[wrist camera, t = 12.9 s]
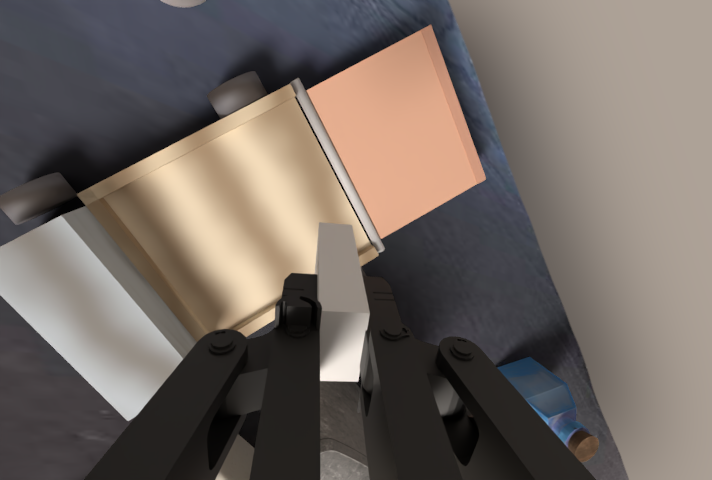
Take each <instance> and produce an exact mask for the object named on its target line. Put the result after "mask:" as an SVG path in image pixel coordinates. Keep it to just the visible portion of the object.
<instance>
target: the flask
mask: <svg viewBox="0 0 712 480" xmlns="http://www.w3.org/2000/svg"><path fill="white" fill-rule="evenodd" d="M359 394H360V387H359V386H358V385H357V384H356V382H347V381H320V480H370V479H369V471H368V462H367V454H366V445H365V437H364V428H363V420H362V411H361V410H360V413H357V406H358V400H359Z"/></svg>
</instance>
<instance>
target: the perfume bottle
mask: <svg viewBox="0 0 712 480" xmlns="http://www.w3.org/2000/svg"><path fill="white" fill-rule="evenodd" d="M497 368H498V369H499V370H500V371H501V373H502V374H503V375H504V376H505V377H506V378H507V379H508V381H509V382H510V383H511V384H512V385H513V386H514V387H515V388H516V390H517V391H518V392H519V393H520V394H521V395H522V396H523V398H524V399H525V400H526V401H527V402H528V403H529V404H530V405H531V407H532V408H533V409H534V410H535V411H536V412H537V413H538V415H539V416H540V417H541V418H542V419H543V420H544V421H545V422H546V424H547V425H548V426H549V427H550V428H551V429H552V430H553V431H554V433H555V434H556V435H557V436H558V437H559V438H560V439H561V441H562V442H563V443H564V444H565V445H566V446H567V447H568V448H569V450H570V451H571V452H572V453H573V454H574V455H575V456H576V458H577V459H578V460H579V461H580V462H584V461H587V460H589V459H590V458H591V457H592V456H593V455H594V454H595V453H596V451H597V449H598V446H599V441H598V439H597V438H596V437H594V436H592V435H590V432H589V430H588V429H587V428H586V427H585V426H583V425H582V424H581V423H579V422H577V421H576V405H575V403H574V400H573V398H572V395H571V393H570V390H569V388H568V386H567V384H566V383H565V382H564V381H562V380H561V379H560V378H558V377H557V376H555V375H554V374H553V373H551V372H550V371H549V370H547V369H546V368H545V367H543V366H542V365H540V364H539V363H538V362H536V361H535V360H534V359H532V358H531V357H527V358H524V359H521V360H518V361H515V362H512V363H509V364H506V365H503V366H500V367H497Z"/></svg>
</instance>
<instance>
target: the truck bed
mask: <svg viewBox="0 0 712 480" xmlns="http://www.w3.org/2000/svg"><path fill="white" fill-rule="evenodd" d="M295 96H296V94H295V92H294V90H293V88H292V86H291V84H288V85H286V86H285V87H283V88H281V89H279V90H277V91H275V92H273V93H271V94H269V95H268V94H267V92H266V90H265V88H264V87H263V85H262V83H261V81H260V79H259V77H258V75H257V74H256V72H255V71H251V72H247V73H244V74H242V75H239V76H237V77H235V78H233V79H231V80H229V81H227V82H225V83H223V84H222V85H220V86H218V87H217V88H215V89H214V90H212V91H211V92H210V93H209V94H208V95H207V97H208V99H209V101H210V102H211V104H212V106H213V107H214V109H215V111H216V112H217V114H218V116H219V117H220V119H221V120H219V121H217V122H215V123H213V124H211V125H209V126H207V127H205V128H203V129H201V130H200V131H198V132H196V133H194V134H192V135H190V136H188V137H186V138H184V139H182V140H180V141H178V142H176V143H174V144H172V145H171V146H169V147H167V148H165V149H163V150H161V151H159V152H157V153H155V154H153V155H151V156H149V157H147V158H145V159H143V160H142V161H140V162H138V163H136V164H134V165H132V166H130V167H128V168H126V169H124V170H122V171H120V172H118V173H116V174H114V175H113V176H111V177H109V178H107V179H105V180H103V181H101V182H99V183H97V184H95V185H93V186H91V187H89V188H87V189H86V190H84V191H82V192H80V193H78V194H77V193H76V192H75V191H74V190H73V188H72V187H71V186H70V185H69V184H68V182H67V181H66V180H65V179H64V177H63V176H62V175H61V174H60V173H59V172H56V173H52V174H49V175H45V176H43V177H40V178H37V179H35V180H32V181H30V182H27V183H25V184H23V185H21V186H18V187H16V188H14V189H12V190H10V191H8V192H6V193H5V194H3V195H1V196H0V208H1V209H2V210H3V211H4V212H5V213H6V215H7V216H8V217H9V218H10V219H11V220H12V221H13V222H14V223H15V224H16V225H18V224H21V223H24V222H27V221H29V220H31V219H34V218H36V217H38V216H40V215H42V214H45V213H47V212H49V211H51V210H53V209H55V208H57V207H59V206H61V205H63V204H65V203H67V202H68V201H70V200H72V199H74V198H75V197H77V196H78V197H79V198H80V199H81V200H82V202H83V203H84V204H85V205H86V206H84V207H82V208H79V209H76V210H74V211H71V212H68V213H66V214H63V215H61V216H59V217H57V218H55V219H53V220H51V221H49V222H47V223H45V224H43V225H42V226H40V227H38V228H36V229H34V230H32V231H30V232H28V233H26V234H24V235H22V236H20V237H19V238H17V239H15V240H13V241H11V242H9V243H7V244H5V245H3V246H1V247H0V295H1V296H2V297H3V298H4V299H5V300H6V301H7V302H8V303H9V304H10V305H11V306H12V307H13V308H14V309H15V310H16V311H17V312H18V313H19V314H20V315H21V316H22V317H23V318H24V319H25V320H26V321H27V322H28V323H29V324H30V325H31V326H32V327H33V328H34V329H35V330H36V331H37V332H38V333H39V334H40V335H41V336H42V337H43V338H44V339H45V340H46V341H47V342H48V343H49V344H50V345H51V346H52V347H53V348H54V349H55V350H56V351H57V352H58V353H59V354H60V355H62V356H63V357H64V358H65V359H66V360H67V361H68V362H69V363H70V364H71V365H72V366H73V367H74V368H75V369H76V370H77V371H78V372H79V373H80V374H81V375H82V376H83V377H84V378H85V379H86V380H87V381H88V382H89V383H90V384H91V385H92V386H93V387H94V388H95V389H96V390H97V391H98V392H99V393H100V394H101V395H102V396H103V397H104V398H105V399H106V400H107V401H108V402H109V403H110V404H111V405H112V406H113V407H114V408H115V409H116V410H117V411H118V412H119V413H120V414H121V415H122V416H123V417H124V418H125V419H126V420H127V421H129V420H131V419H132V418H134V417H135V416H137V415H138V414H139V412H140V411H141V410H142V409H143V407H144V406H145V405H146V404H147V403H148V401H149V400H150V399H151V398H152V396H153V395H154V394H155V393H156V392H157V390H158V389H159V388H160V387H161V386H162V384H163V383H164V382H165V381H166V379H167V378H168V377H169V376H170V375H171V373H172V372H173V371H174V370H175V369H176V367H177V366H178V365H179V364H180V362H181V361H182V360H183V359H184V358H185V356H186V355H187V354H188V353H189V351H190V350H191V349H192V348H193V347H194V345H195V344H196V343H197V342H198V341H199V340H200V339H201V338H202V337H203V336H204V335H205V334H208V333H210V332H212V331H215V330H221V329H233V330H236V331H238V332H241V333H242V334H243V335H244V336H245V337H247V336H249V335H250V334H252V333H253V332H255V331H257V330H258V329H260V328H262V327H263V326H265V325H266V324H268V323H270V322H271V321H273V320H275V305H276V303H277V302H278V300H280V299H281V298H282V292H283V286H284V280H285V279H286V278H287V277H288V276H289V275H290V274H291V273H303V274H315V263H316V251H317V240H318V228H319V222H322V223H335V224H347V225H352V227H353V232H354V237H355V242H356V247H357V252H358V257H359V262H360V267H361V266H363V265H364V264H366V263H368V262H369V261H371V260H372V259H374V258H376V257H377V256H379V255H378V253H377V251H376V249H375V247H374V246H372V245H371V243H370V241H369V240H368V238H367V236H366V234H365V232H364V230H363V228H362V226H361V224H360V222H359V220H358V218H357V216H356V214H355V213H354V211H353V209H352V207H351V205H350V203H349V201H348V199H347V197H346V195H345V193H344V191H343V189H342V187H341V186H340V184H339V182H338V180H337V178H336V176H335V174H334V172H333V170H332V168H331V166H330V164H329V162H328V160H327V159H326V157H325V155H324V153H323V151H322V149H321V147H320V145H319V143H318V141H317V139H316V137H315V135H314V133H313V132H312V130H311V128H310V126H309V124H308V122H307V120H306V118H305V116H304V114H303V112H302V110H301V108H300V106H299V105H298V103H297V101H296V99H295ZM361 272H362V276H366V274H365V272H364V270H363V269H362V267H361Z"/></svg>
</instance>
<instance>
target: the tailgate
mask: <svg viewBox="0 0 712 480" xmlns="http://www.w3.org/2000/svg"><path fill="white" fill-rule="evenodd" d="M290 84H291V86H292V88H293V90H294V92H295V94H296V97H297V99H298V100H299V102H300V104H301V106H302V108H303V110H304V112H305V114H306V116H307V118H308V120H309V122H310V124H311V126H312V128H313V130H314V131H315V133H316V135H317V137H318V139H319V141H320V143H321V145H322V147H323V149H324V151H325V153H326V155H327V157H328V159H329V161H330V162H331V164H332V166H333V168H334V170H335V172H336V174H337V176H338V178H339V180H340V182H341V184H342V186H343V188H344V190H345V191H346V193H347V195H348V197H349V199H350V201H351V203H352V205H353V207H354V209H355V211H356V213H357V215H358V217H359V219H360V221H361V222H362V224H363V226H364V228H365V230H366V232H367V234H368V236H369V238H370V240H371V242H372V244H373V246H374V247H375V249H376V251H377V253H380V252H382V251H384V250H385V247H384V245H383V243H382V241H381V239H382V238H384V237H385V236H387V235H389V234H391V233H392V232H394V231H396V230H398V229H399V228H401V227H403V226H405V225H406V224H408V223H410V222H412V221H413V220H415V219H417V218H419V217H420V216H422V215H424V214H426V213H427V212H429V211H431V210H433V209H434V208H436V207H438V206H440V205H441V204H443V203H445V202H446V201H448V200H450V199H452V198H453V197H455V196H457V195H459V194H460V193H462V192H464V191H466V190H467V189H469V188H471V187H473V186H474V185H476V184H479V183H480V182H482V181H484V180H486V177H485V174H484V171H483V169H482V166H481V163H480V160H479V157H478V155H477V152H476V149H475V146H474V143H473V141H472V138H471V135H470V132H469V129H468V127H467V124H466V121H465V118H464V115H463V113H462V110H461V107H460V104H459V101H458V99H457V96H456V93H455V90H454V87H453V85H452V82H451V79H450V76H449V73H448V71H447V68H446V65H445V62H444V59H443V57H442V54H441V51H440V48H439V45H438V43H437V40H436V37H435V34H434V31H433V29H432V26H431V25H429V26H427V27H425V28H423V29H421V30H420V31H418V32H416V33H414V34H412V35H410V36H408V37H406V38H405V39H403V40H401V41H399V42H397V43H395V44H393V45H391V46H389V47H388V48H386V49H384V50H382V51H380V52H378V53H376V54H374V55H372V56H370V57H369V58H367V59H365V60H363V61H361V62H359V63H357V64H355V65H353V66H352V67H350V68H348V69H346V70H344V71H342V72H340V73H338V74H336V75H334V76H333V77H331V78H329V79H327V80H325V81H323V82H321V83H319V84H317V85H316V86H314V87H312V88H310V89H308V90H306V91H305V89H304V87H303V85H302V83H301V81H300V79H299V78H297V79H295V80H293V81H292V82H290ZM380 238H381V239H380Z"/></svg>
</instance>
